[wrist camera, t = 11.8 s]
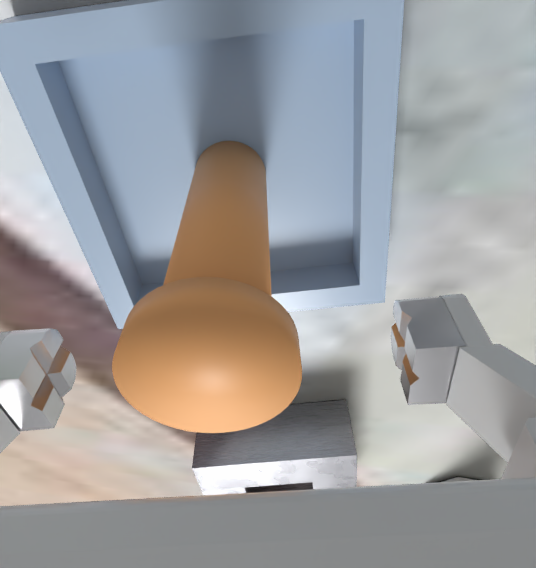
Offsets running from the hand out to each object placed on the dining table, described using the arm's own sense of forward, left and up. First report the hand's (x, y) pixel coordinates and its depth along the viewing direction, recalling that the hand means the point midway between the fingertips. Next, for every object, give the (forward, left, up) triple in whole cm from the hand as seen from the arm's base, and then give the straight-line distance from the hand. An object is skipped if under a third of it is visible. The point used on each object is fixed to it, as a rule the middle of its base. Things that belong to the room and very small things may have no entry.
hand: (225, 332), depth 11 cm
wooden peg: (0, 0, -10) cm, 10 cm away
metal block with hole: (+1, +22, -10) cm, 25 cm away
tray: (+1, 0, -10) cm, 10 cm away
